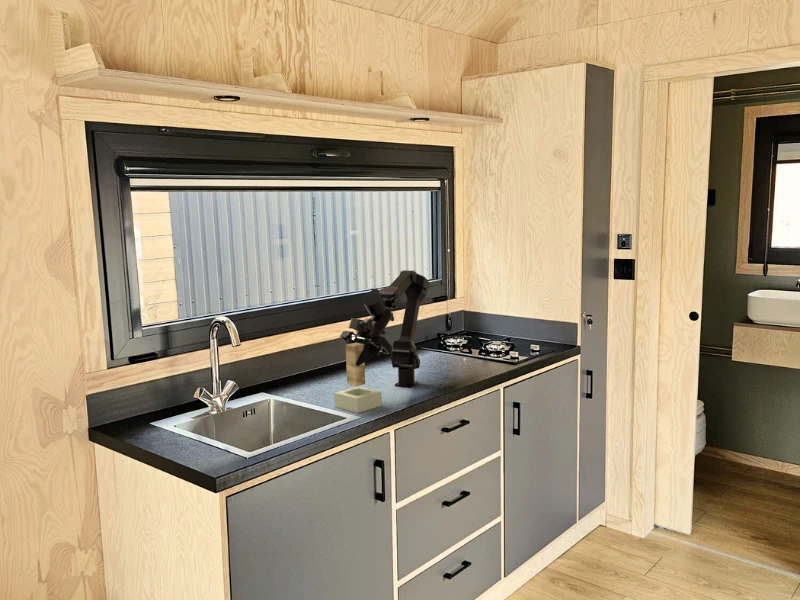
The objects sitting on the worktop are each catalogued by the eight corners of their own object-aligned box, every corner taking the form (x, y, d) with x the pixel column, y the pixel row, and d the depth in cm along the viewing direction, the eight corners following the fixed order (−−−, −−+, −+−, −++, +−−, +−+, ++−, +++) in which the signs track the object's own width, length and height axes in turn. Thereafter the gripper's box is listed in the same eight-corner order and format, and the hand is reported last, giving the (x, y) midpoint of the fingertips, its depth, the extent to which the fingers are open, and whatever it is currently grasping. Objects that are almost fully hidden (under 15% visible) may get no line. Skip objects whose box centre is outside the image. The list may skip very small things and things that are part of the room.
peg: (356, 381, 224) (355, 342, 223) (365, 383, 222) (364, 344, 220) (347, 384, 221) (345, 344, 220) (355, 386, 219) (354, 346, 217)
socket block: (359, 399, 229) (358, 386, 229) (382, 405, 222) (381, 391, 222) (334, 406, 222) (334, 392, 221) (357, 413, 215) (357, 398, 214)
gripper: (343, 305, 228) (317, 345, 221) (384, 310, 215) (358, 352, 208) (362, 326, 234) (337, 365, 228) (403, 332, 221) (378, 374, 215)
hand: (352, 364), depth 220 cm, fingers closed on peg, 4 cm apart
